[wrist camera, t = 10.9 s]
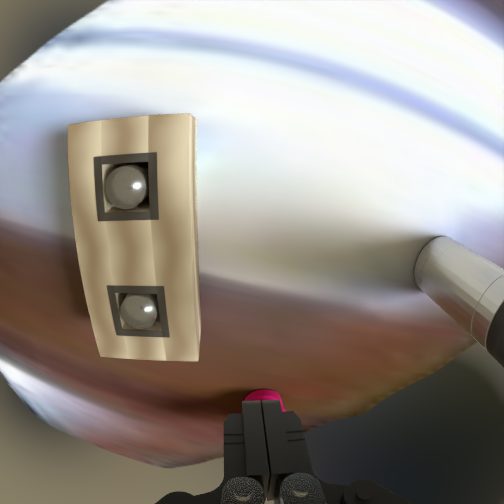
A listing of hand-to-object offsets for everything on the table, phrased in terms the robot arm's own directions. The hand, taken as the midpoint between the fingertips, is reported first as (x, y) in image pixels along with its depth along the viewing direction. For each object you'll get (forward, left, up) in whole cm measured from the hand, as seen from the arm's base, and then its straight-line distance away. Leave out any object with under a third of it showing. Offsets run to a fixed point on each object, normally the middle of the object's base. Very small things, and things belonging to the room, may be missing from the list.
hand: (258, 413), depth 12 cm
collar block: (+10, 0, -28) cm, 29 cm away
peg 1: (+10, -6, -27) cm, 30 cm away
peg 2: (+10, +7, -27) cm, 30 cm away
